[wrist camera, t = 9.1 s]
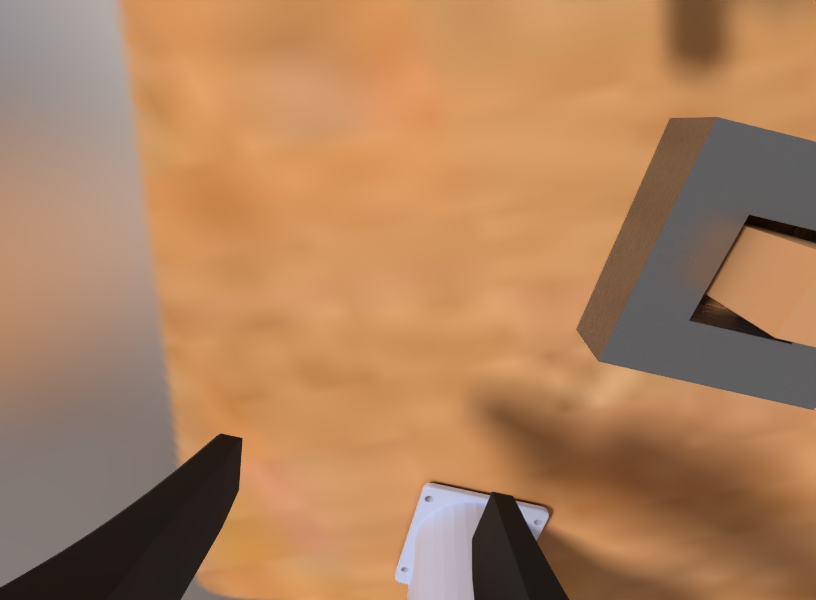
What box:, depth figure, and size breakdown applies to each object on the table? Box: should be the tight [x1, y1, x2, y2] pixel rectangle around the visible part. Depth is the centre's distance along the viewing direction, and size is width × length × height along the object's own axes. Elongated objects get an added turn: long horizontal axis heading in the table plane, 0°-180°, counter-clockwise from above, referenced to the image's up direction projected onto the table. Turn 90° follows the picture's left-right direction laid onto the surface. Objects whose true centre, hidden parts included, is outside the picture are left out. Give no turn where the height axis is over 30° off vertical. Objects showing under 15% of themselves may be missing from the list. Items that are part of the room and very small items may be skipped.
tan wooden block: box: [705, 223, 816, 347], centre depth 16 cm, size 3×3×6 cm
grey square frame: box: [576, 117, 816, 410], centre depth 17 cm, size 10×10×3 cm
